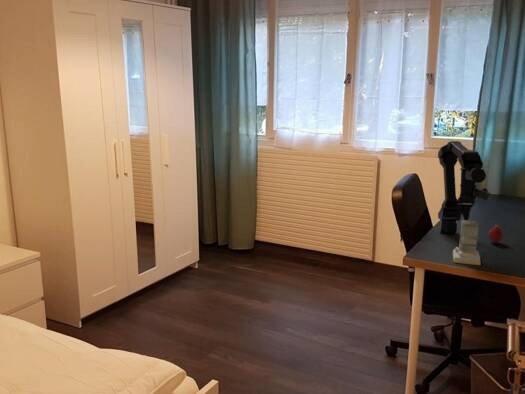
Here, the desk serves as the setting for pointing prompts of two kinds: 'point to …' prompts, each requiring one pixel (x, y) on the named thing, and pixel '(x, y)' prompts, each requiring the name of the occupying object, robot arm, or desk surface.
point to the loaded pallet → (468, 239)
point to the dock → (465, 259)
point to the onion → (495, 234)
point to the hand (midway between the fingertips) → (466, 219)
